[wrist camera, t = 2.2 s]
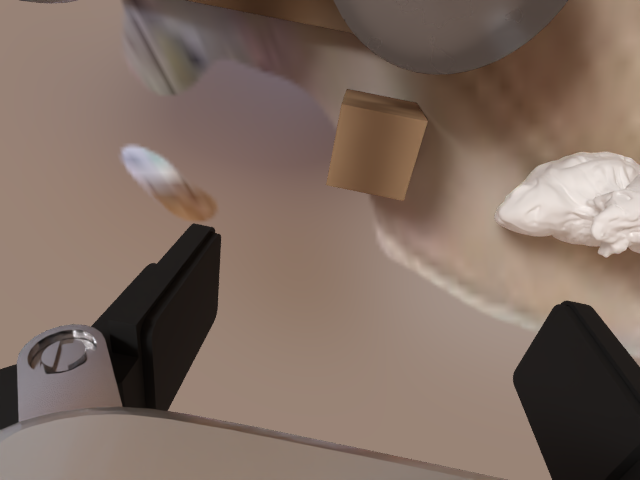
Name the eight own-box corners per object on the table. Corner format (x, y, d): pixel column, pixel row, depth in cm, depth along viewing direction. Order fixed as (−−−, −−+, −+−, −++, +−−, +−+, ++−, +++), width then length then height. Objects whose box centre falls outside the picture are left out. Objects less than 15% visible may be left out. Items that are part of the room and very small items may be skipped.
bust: (639, 173, 30) (800, 98, 19) (648, 271, 29) (825, 253, 18) (477, 173, 31) (538, 104, 20) (480, 267, 30) (546, 248, 19)
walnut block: (416, 102, 27) (427, 121, 22) (397, 169, 30) (403, 200, 24) (347, 88, 27) (341, 104, 22) (333, 156, 30) (326, 185, 25)
